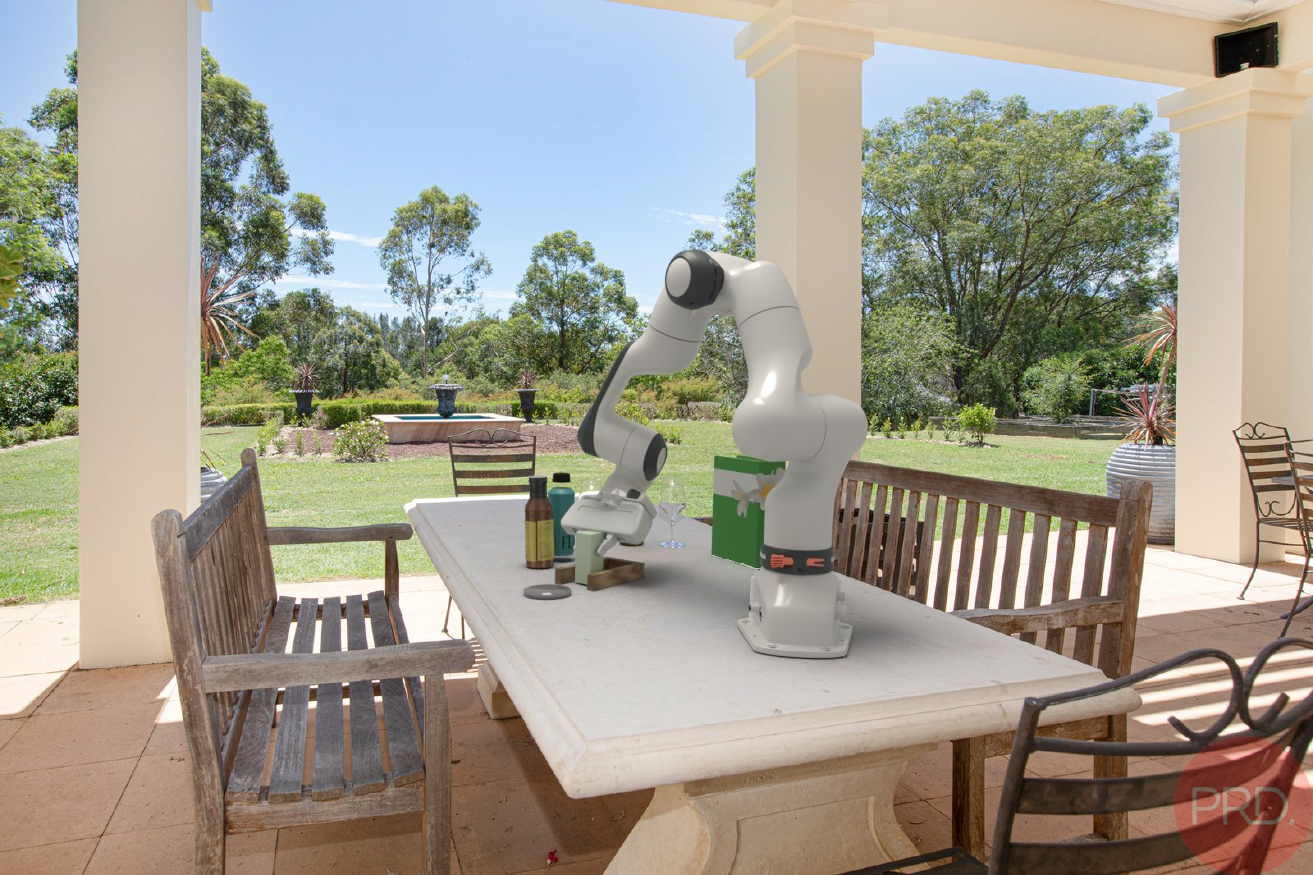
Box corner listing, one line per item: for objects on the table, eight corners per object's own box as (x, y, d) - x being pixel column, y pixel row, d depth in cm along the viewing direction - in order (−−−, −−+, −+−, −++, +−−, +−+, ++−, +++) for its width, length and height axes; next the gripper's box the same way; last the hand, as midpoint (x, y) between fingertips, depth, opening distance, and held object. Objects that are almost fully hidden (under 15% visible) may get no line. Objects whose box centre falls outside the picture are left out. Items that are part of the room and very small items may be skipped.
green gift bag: (711, 555, 203) (714, 455, 202) (736, 553, 207) (739, 455, 206) (756, 570, 188) (759, 461, 187) (782, 567, 192) (785, 461, 190)
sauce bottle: (556, 564, 189) (558, 475, 188) (550, 570, 183) (552, 478, 181) (527, 563, 189) (529, 474, 188) (520, 568, 183) (522, 477, 182)
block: (587, 578, 174) (588, 530, 173) (603, 581, 171) (603, 532, 171) (574, 582, 171) (575, 532, 170) (590, 585, 168) (590, 534, 168)
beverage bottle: (561, 564, 189) (562, 474, 188) (539, 560, 193) (541, 472, 192) (580, 560, 194) (582, 472, 193) (559, 556, 198) (561, 470, 197)
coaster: (565, 600, 156) (565, 596, 156) (517, 598, 157) (517, 594, 157) (575, 589, 165) (575, 585, 165) (530, 587, 166) (530, 583, 166)
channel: (607, 570, 184) (607, 556, 184) (644, 577, 178) (644, 562, 178) (554, 583, 170) (555, 568, 170) (593, 591, 165) (593, 575, 164)
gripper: (574, 486, 182) (541, 537, 174) (651, 494, 170) (620, 549, 162) (587, 505, 186) (556, 555, 178) (664, 514, 174) (633, 569, 166)
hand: (587, 553), depth 170 cm, fingers closed on block, 4 cm apart
